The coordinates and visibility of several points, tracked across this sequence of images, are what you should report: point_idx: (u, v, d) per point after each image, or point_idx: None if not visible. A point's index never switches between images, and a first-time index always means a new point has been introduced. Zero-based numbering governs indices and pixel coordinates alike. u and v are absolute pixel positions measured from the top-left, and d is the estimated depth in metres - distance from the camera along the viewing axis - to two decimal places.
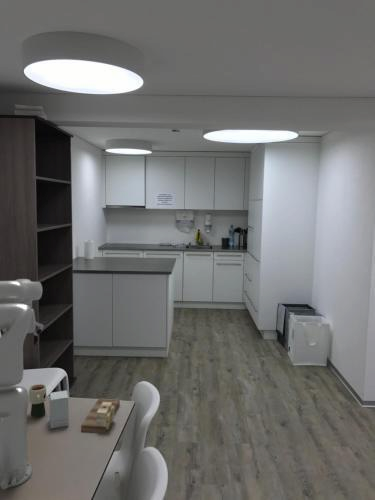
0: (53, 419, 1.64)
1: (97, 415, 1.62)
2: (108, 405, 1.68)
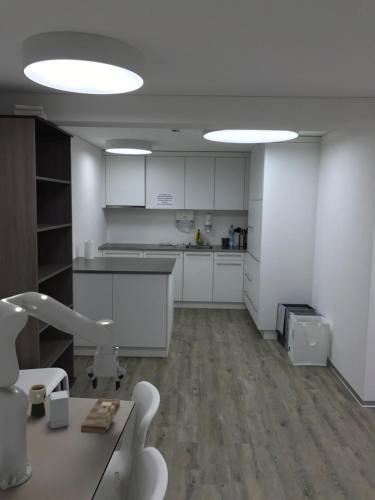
0: (53, 419, 1.64)
1: (97, 415, 1.62)
2: (108, 405, 1.68)
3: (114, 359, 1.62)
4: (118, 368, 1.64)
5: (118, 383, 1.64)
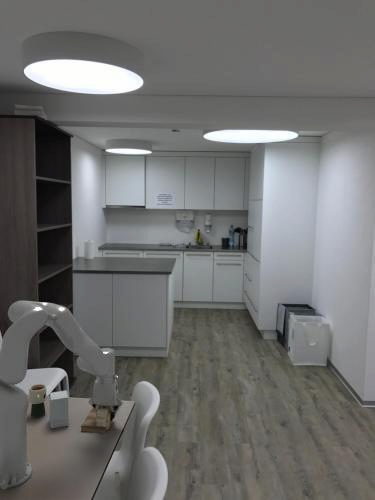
0: (53, 419, 1.64)
1: (97, 415, 1.62)
2: None
3: (114, 388, 1.63)
4: None
5: (113, 414, 1.65)
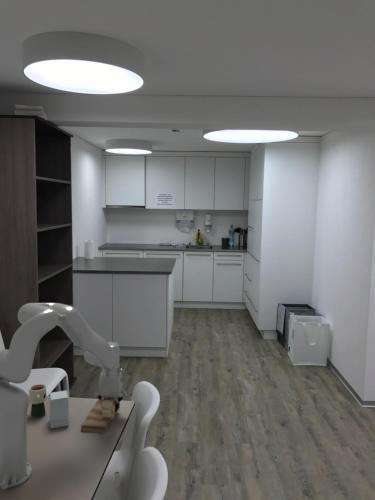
0: (53, 419, 1.64)
1: (102, 406, 1.69)
2: (113, 397, 1.75)
3: (118, 380, 1.71)
4: (121, 390, 1.72)
5: (117, 405, 1.73)
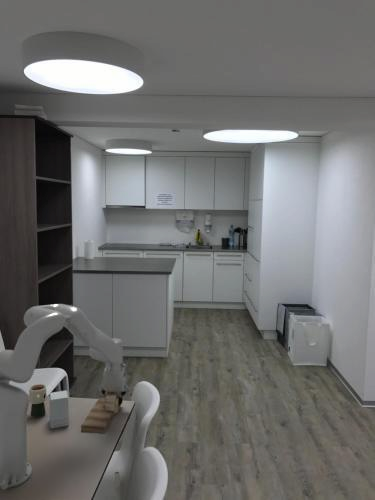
0: (53, 419, 1.64)
1: (106, 400, 1.75)
2: (116, 391, 1.81)
3: (121, 375, 1.76)
4: (124, 385, 1.78)
5: (120, 399, 1.78)
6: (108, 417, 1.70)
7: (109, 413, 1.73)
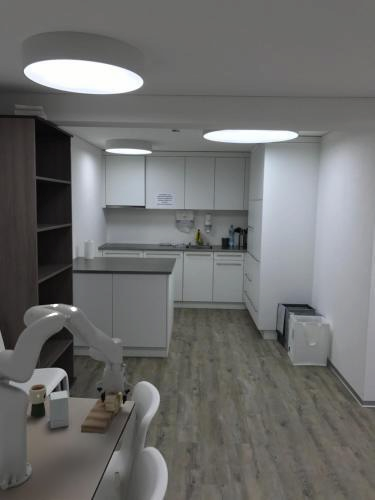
0: (53, 419, 1.64)
1: (106, 400, 1.75)
2: (116, 391, 1.81)
3: (121, 375, 1.76)
4: (125, 383, 1.78)
5: (125, 397, 1.78)
6: (108, 417, 1.70)
7: (109, 413, 1.73)
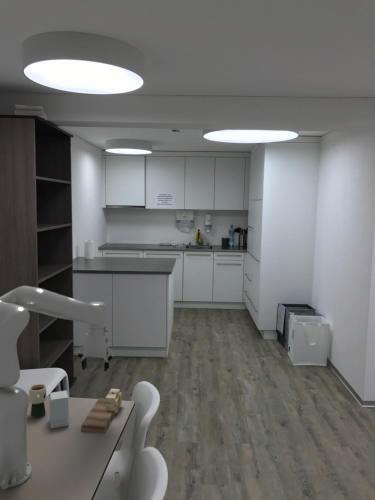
0: (53, 419, 1.64)
1: (106, 400, 1.75)
2: (116, 391, 1.81)
3: (104, 340, 1.67)
4: (107, 349, 1.68)
5: (107, 364, 1.68)
6: (108, 417, 1.70)
7: (109, 413, 1.73)
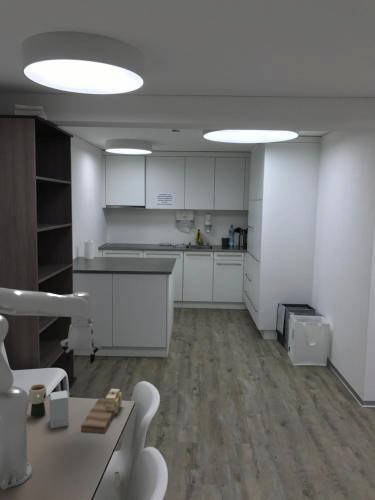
0: (53, 419, 1.64)
1: (106, 400, 1.75)
2: (116, 391, 1.81)
3: (89, 331, 1.61)
4: (93, 341, 1.62)
5: (93, 356, 1.63)
6: (108, 417, 1.70)
7: (109, 413, 1.73)
